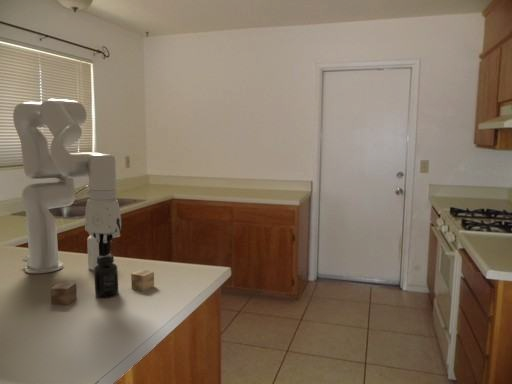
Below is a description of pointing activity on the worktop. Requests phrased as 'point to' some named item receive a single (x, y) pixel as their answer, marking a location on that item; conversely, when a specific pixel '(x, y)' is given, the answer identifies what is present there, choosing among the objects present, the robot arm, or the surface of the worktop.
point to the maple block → (142, 280)
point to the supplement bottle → (106, 277)
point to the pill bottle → (92, 252)
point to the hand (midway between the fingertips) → (104, 254)
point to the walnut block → (63, 293)
